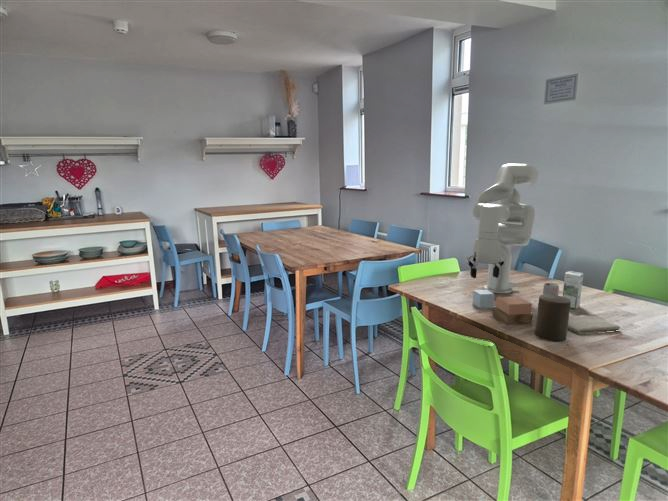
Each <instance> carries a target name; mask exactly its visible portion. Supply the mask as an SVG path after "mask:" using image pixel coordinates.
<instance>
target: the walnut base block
mask: <svg viewBox="0 0 668 501" xmlns="http://www.w3.org/2000/svg"><path fill="white" fill-rule="evenodd" d="M492 309H493V311H492V316H493V317H494V318H496V319H497V320H498V321H500V322H501V323H503V324H504V325H506V326H514V325H532V324H533V313H531V314H517V315H508V314H506V313H505V312H503V311H501V310H500V309H498V308H496V306H493V308H492Z"/></svg>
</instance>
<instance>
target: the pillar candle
mask: <svg viewBox="0 0 668 501" xmlns="http://www.w3.org/2000/svg"><path fill="white" fill-rule="evenodd" d="M562 296H563V295H559V294H558V295H549V294H543V293H542V294H540V295H539V296H538V305H537V312H536V321H535V328H534V335H535V336H536V337H537V338H539V339H541V340H544V341H548V342H553V343H560V342H561V343H562V342H565V341H566V340H567V334H568V329H567V327H568V320H569V316H570V312H571V308H570V304H571V300H570V299H569V298H566V297H562Z"/></svg>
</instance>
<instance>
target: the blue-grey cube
mask: <svg viewBox="0 0 668 501" xmlns="http://www.w3.org/2000/svg"><path fill="white" fill-rule="evenodd" d="M472 293H473V294H472V304H473V305H474V306H476V308H478V309H490V308H491V309H493V308H494V299H495V298H494V297H495V293H492V292H490V291H488V290H484V289H473V292H472Z"/></svg>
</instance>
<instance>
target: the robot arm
mask: <svg viewBox="0 0 668 501" xmlns="http://www.w3.org/2000/svg"><path fill="white" fill-rule="evenodd" d="M538 179H539V170H538V168H537V167H536V166H535V165H533V164H530V163H506V164H503V165H501V167H499V169H498V172H497V174H496V177H495V179H494V182H493V185H492V186H490V187H489V188H487V189H486V190H484V191H483V192H481V193H480V194H479V195H478V197H477V198H476V201H475V203H474V206H473V209H472V216H473V219H474V220H475V221H477V222H479V224H478V236H477V238H475V241H474V244H473V247H472V253H471V254H469V255H467V256H466V257H465V260H466V262H467V263H466V264H468V265H469V267H470V272H469V273H470V274H469V275H470V277H471V278H472V279H476V278H477V273H478V272H477V270H478V269H477V267H478V265H488V271H487V284H485V285H484V284H483V289H482V290H488V291H490V292H492V293H494V294H501V295H503V294H504V295H505V294H507V295H508V294H511V293H512V292H513V287H519V286H520V283H519V282H518V281H517V282H516V281H514V282H513V281H510V277H511V267H512V266H511V265H512V258H513V256H512V255H513V254H512V252H511V249H510V248H509V246H518V247H525V246H528V245H529V243H530V242H531V237H532V232H533V227H534V221H535V215H536V214H535V213H536V211H535V208H534V206H533V205H532V204H529V203H520V202H521V194H520V192H519V191H518V189H517V188H515V186H516V185H522V186H523V185H525V186H528V185H529V186H533V185H535V184H536V183H537V181H538ZM497 201H499V203H497V204H496V203H495V202H497Z"/></svg>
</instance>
